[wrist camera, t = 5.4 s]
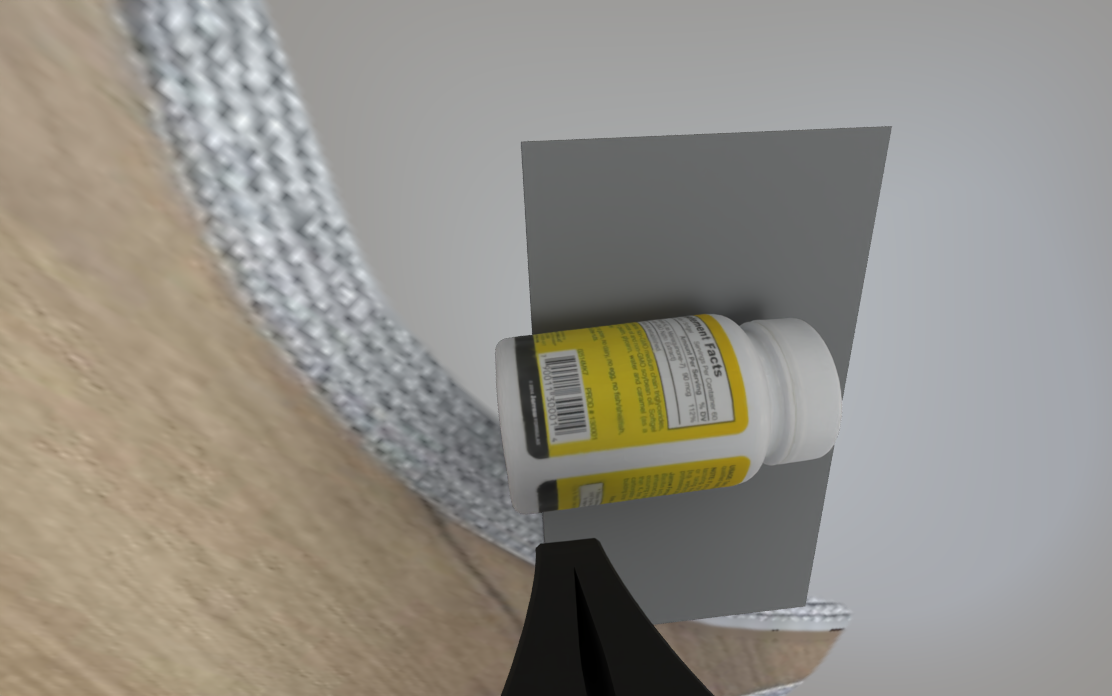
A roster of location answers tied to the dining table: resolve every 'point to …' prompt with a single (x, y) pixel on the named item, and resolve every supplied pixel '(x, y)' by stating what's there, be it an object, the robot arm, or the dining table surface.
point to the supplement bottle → (660, 407)
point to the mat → (706, 288)
